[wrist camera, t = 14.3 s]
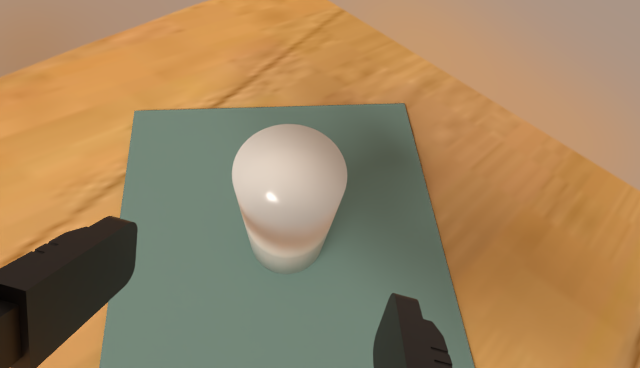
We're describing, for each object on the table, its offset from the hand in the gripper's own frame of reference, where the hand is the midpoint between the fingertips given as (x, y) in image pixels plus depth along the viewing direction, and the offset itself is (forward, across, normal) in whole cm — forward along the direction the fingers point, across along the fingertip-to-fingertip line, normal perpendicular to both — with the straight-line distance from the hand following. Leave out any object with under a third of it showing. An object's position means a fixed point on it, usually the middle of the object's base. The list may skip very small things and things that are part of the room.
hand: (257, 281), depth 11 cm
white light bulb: (+10, 0, +4) cm, 11 cm away
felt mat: (+11, 0, +4) cm, 11 cm away
